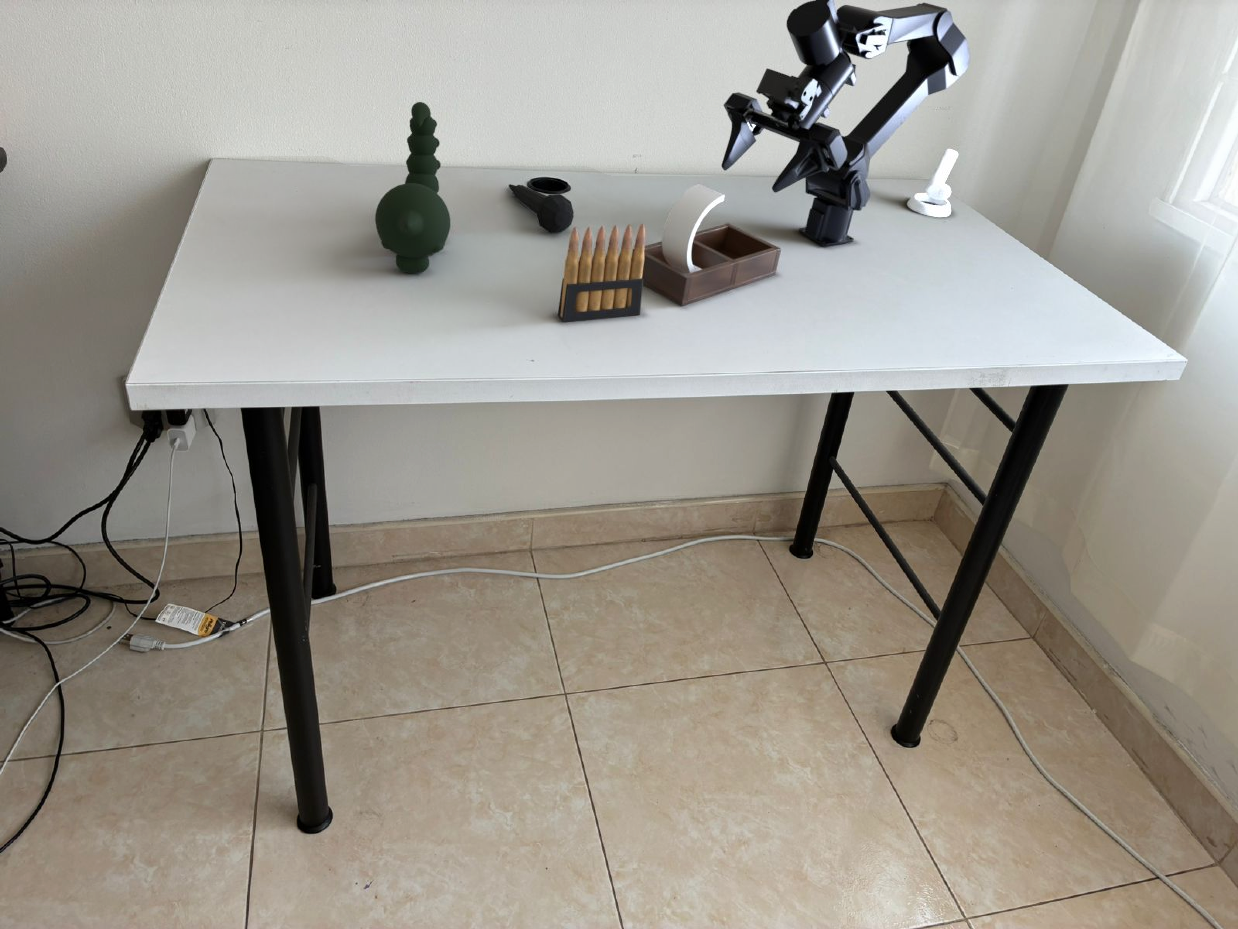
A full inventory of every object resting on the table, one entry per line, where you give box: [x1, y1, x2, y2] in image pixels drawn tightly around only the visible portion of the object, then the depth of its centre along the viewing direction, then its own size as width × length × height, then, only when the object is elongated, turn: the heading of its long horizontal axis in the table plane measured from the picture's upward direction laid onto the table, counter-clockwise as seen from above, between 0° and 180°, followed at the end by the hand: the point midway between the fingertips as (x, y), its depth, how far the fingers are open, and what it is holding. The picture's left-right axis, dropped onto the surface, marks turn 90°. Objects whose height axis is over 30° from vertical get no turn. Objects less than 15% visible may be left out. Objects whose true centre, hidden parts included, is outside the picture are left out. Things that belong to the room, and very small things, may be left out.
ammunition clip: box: [557, 223, 646, 323], centre depth 117 cm, size 11×2×12 cm, turn 113°
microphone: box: [508, 184, 575, 234], centre depth 144 cm, size 6×6×20 cm
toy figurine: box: [374, 101, 451, 274], centre depth 124 cm, size 9×19×25 cm
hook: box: [906, 148, 959, 218], centre depth 167 cm, size 8×12×7 cm
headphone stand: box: [661, 183, 726, 274], centre depth 127 cm, size 5×6×12 cm
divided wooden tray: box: [631, 222, 782, 307], centre depth 132 cm, size 20×10×4 cm, turn 133°
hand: (747, 179), depth 129 cm, fingers open, 9 cm apart
